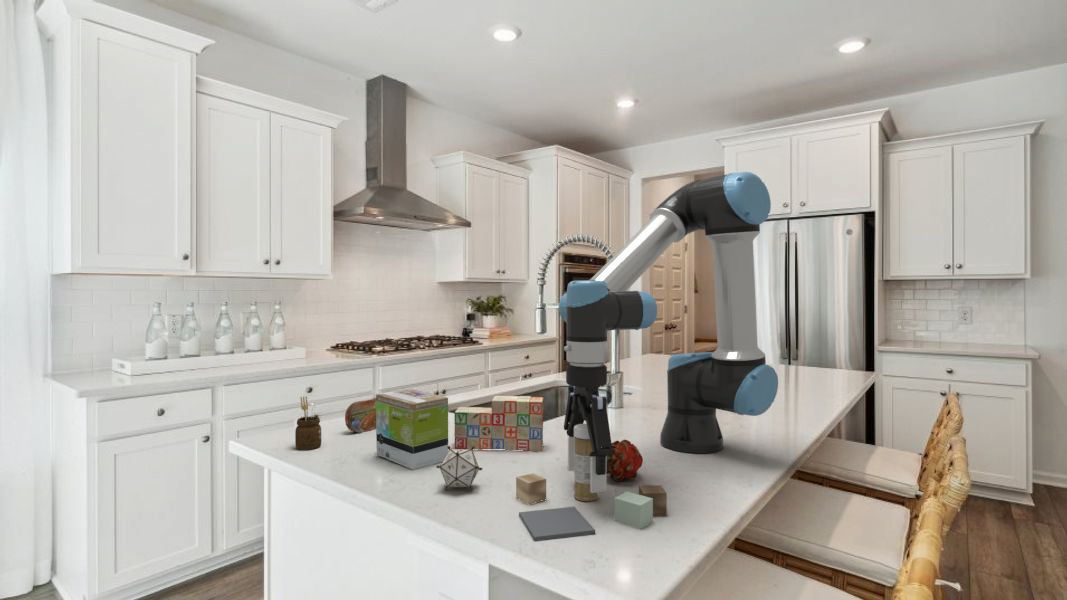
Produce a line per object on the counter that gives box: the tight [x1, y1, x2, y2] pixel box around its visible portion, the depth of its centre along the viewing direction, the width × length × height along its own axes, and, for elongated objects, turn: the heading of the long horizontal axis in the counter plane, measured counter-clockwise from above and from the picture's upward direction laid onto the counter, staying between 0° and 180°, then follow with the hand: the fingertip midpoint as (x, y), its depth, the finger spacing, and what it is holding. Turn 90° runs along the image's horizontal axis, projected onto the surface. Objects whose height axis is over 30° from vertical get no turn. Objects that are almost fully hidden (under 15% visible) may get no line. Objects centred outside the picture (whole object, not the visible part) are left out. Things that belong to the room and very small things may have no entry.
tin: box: [344, 397, 376, 434], centre depth 156 cm, size 15×3×8 cm, turn 147°
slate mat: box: [518, 506, 596, 542], centre depth 93 cm, size 10×10×1 cm
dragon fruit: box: [606, 439, 644, 482], centre depth 116 cm, size 8×8×12 cm
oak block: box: [515, 472, 547, 505], centre depth 104 cm, size 4×4×4 cm
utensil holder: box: [294, 396, 322, 451], centre depth 138 cm, size 6×6×12 cm
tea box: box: [375, 388, 449, 471], centre depth 129 cm, size 15×10×15 cm, turn 47°
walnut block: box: [638, 484, 668, 517], centre depth 99 cm, size 4×4×4 cm
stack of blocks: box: [453, 395, 544, 452], centre depth 139 cm, size 21×6×12 cm, turn 86°
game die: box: [435, 445, 483, 492], centre depth 110 cm, size 9×8×10 cm
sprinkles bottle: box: [573, 423, 599, 502], centre depth 105 cm, size 5×5×14 cm
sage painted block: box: [613, 491, 654, 530], centre depth 94 cm, size 4×5×4 cm
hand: (585, 480), depth 105 cm, fingers open, 12 cm apart
